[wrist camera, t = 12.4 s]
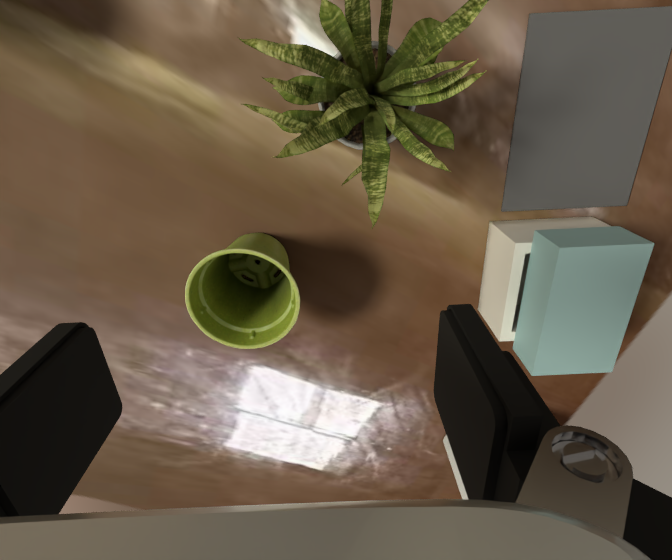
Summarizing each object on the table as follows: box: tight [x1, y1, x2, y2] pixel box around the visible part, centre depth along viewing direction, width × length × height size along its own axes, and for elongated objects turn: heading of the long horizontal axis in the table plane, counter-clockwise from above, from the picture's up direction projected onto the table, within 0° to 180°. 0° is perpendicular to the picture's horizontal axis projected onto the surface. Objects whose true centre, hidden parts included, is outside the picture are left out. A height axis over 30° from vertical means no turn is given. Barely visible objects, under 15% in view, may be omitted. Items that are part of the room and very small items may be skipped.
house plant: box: [239, 0, 489, 229], centre depth 26 cm, size 14×14×16 cm
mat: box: [501, 6, 672, 212], centre depth 35 cm, size 16×12×1 cm
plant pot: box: [185, 233, 300, 349], centre depth 36 cm, size 9×9×9 cm
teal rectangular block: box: [513, 226, 655, 376], centre depth 34 cm, size 12×7×4 cm, turn 2°
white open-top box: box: [478, 216, 612, 341], centre depth 38 cm, size 10×10×6 cm
